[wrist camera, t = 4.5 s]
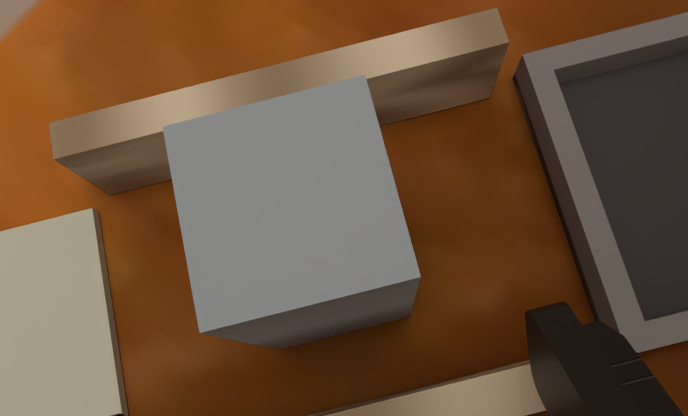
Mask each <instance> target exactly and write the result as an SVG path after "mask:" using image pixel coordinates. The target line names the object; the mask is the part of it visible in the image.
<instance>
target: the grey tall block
mask: <svg viewBox="0 0 688 416" xmlns="http://www.w3.org/2000/svg"><path fill="white" fill-rule="evenodd" d="M163 133H164V138H165V144H166V149H167V155H168V161H169V166H170V172H171V177H172V183H173V188H174V194H175V199H176V205H177V211H178V216H179V222H180V227H181V233H182V238H183V244H184V249H185V255H186V261H187V266H188V272H189V277H190V283H191V288H192V294H193V299H194V305H195V311H196V316H197V322H198V327H199V333H202V334H207V335H211V336H216V337H221V338H225V339H230V340H235V341H239V342H244V343H249V344H253V345H258V346H263V347H267V348H272V349H277V350H279V349H283V348H287V347H291V346H295V345H299V344H303V343H307V342H311V341H315V340H319V339H323V338H327V337H331V336H335V335H339V334H343V333H347V332H351V331H355V330H359V329H363V328H367V327H371V326H375V325H379V324H382V323H386V322H390V321H394V320H398V319H402V318H406V317H410V314H411V311H412V307H413V304H414V300H415V297H416V293H417V289H418V286H419V282H420V279H421V276H420V272H419V268H418V265H417V261H416V257H415V254H414V250H413V247H412V243H411V239H410V236H409V232H408V228H407V225H406V221H405V218H404V214H403V210H402V207H401V203H400V199H399V196H398V192H397V189H396V185H395V181H394V178H393V174H392V170H391V167H390V163H389V159H388V156H387V152H386V149H385V145H384V141H383V138H382V134H381V130H380V127H379V123H378V120H377V116H376V112H375V109H374V105H373V101H372V98H371V94H370V91H369V87H368V83H367V80H366V76H365V75H362V76H358V77H354V78H350V79H346V80H342V81H339V82H335V83H331V84H327V85H323V86H319V87H315V88H311V89H307V90H303V91H300V92H296V93H292V94H288V95H284V96H280V97H276V98H272V99H268V100H264V101H261V102H257V103H253V104H249V105H245V106H241V107H237V108H233V109H229V110H225V111H222V112H218V113H214V114H210V115H206V116H202V117H198V118H194V119H190V120H186V121H183V122H179V123H175V124H171V125H167V126H163Z"/></svg>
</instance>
